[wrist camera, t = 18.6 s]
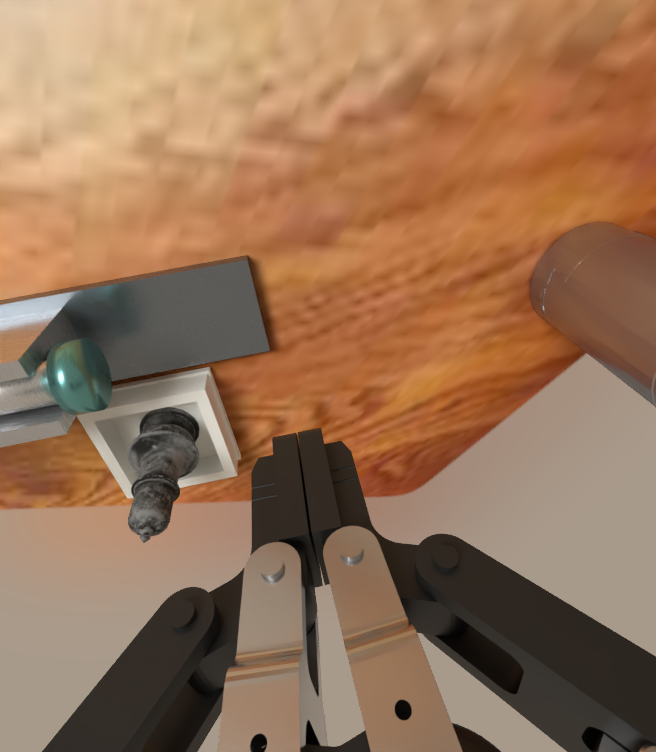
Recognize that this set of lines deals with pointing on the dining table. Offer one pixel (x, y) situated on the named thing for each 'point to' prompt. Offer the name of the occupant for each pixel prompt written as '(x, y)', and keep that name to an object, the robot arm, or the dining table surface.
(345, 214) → the dining table surface
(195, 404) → the holder
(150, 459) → the dark grey turned piece
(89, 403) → the shaft
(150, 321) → the bearing block
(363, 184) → the dining table surface
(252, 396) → the dining table surface
